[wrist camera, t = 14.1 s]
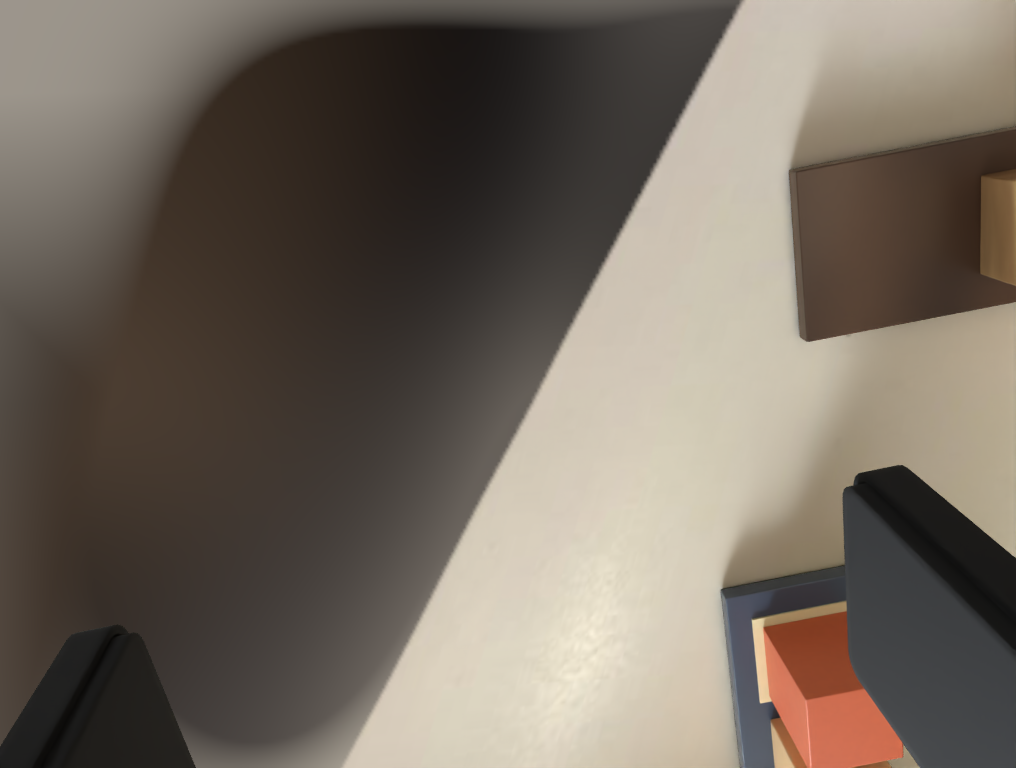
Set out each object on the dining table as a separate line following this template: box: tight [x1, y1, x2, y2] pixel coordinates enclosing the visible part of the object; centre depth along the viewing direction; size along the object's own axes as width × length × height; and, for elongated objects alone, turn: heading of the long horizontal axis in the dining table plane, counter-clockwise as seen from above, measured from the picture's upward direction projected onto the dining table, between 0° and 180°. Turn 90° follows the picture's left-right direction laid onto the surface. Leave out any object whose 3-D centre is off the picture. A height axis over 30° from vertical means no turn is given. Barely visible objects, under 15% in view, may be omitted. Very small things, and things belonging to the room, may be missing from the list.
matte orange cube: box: [763, 611, 903, 768], centre depth 37 cm, size 4×4×5 cm
